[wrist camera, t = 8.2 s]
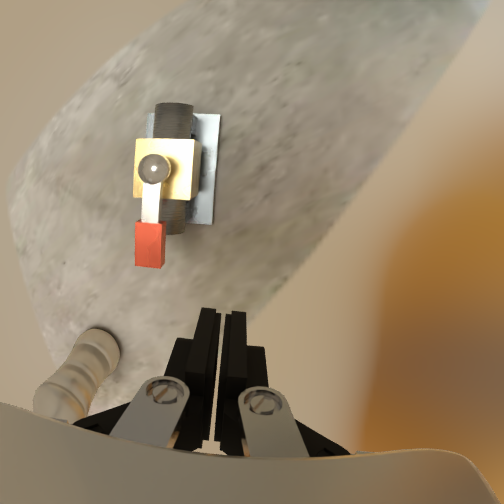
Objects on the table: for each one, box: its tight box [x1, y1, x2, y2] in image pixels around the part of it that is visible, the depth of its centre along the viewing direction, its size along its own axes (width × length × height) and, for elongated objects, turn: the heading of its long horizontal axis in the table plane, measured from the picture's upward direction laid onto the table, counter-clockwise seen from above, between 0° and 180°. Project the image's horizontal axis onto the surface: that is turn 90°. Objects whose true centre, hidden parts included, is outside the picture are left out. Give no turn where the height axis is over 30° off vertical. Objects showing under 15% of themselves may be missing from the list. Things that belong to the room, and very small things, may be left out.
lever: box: [135, 154, 171, 269], centre depth 24 cm, size 9×2×2 cm, turn 174°
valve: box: [133, 103, 221, 235], centre depth 29 cm, size 12×8×10 cm, turn 175°
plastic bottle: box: [33, 329, 120, 424], centre depth 30 cm, size 6×7×20 cm
